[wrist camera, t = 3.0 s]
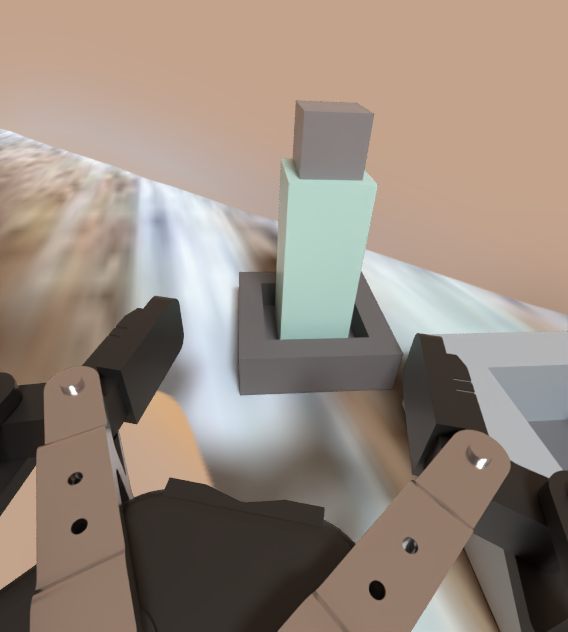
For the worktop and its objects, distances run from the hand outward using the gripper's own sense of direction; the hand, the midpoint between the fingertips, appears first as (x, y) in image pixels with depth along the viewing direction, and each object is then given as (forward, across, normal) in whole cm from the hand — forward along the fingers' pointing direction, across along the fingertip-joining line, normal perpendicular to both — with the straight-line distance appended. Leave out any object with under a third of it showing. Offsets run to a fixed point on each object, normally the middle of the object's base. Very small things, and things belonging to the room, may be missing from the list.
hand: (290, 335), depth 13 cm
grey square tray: (+11, 0, +10) cm, 14 cm away
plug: (+11, 0, +8) cm, 14 cm away
